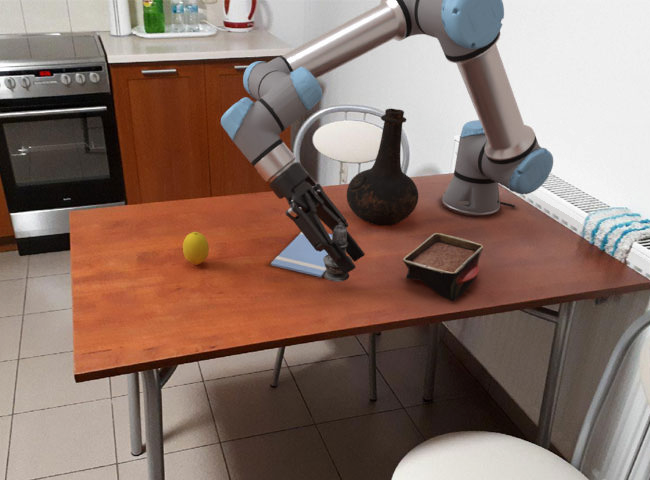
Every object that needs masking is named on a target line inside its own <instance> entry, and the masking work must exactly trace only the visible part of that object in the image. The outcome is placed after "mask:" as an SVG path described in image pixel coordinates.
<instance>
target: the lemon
mask: <svg viewBox="0 0 650 480" xmlns="http://www.w3.org/2000/svg"><path fill="white" fill-rule="evenodd" d="M209 246H210V245H209V242H208V240H207V237H206V236H205V235H204V234H203V233H201V232H197V231H193V232H190V233H188V234H187V235H186V236H185V238H184V240H183V243H182V252H183V253H182V254H183V256H184V258H185V259H186V261H187V262H189V263H191V264H194V265H195V266H198V265H199V264H202V263H204V261H206V259H207V258H208V256H209V251H210V247H209Z"/></svg>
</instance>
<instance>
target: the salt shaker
mask: <svg viewBox="0 0 650 480" xmlns="http://www.w3.org/2000/svg"><path fill="white" fill-rule="evenodd" d="M347 232H348V227H347V228H346V227H345V226H342V223H341V222H340V223H339V225H337V226H335V227H334V228H333V231H332V242H335V241H336V242H337V243H338V245H339V246H340V247H341V248H342V250H343V251H344V252H345V254H346V255H347V252H346V246H347V245H348V242H347V241H346V240H347ZM347 256H348V257H349V259H350V260H351V261H352V262H353V260H352V258H351V257H350V256H349V255H347ZM323 261H324V263H325V267H326V269H327V270H326V271H325V272H324V275H323V277H324V278H325V279H326V280H328V281H331V282H336V283H340V282H341V283H342V282H345V281H347V280H349V279H350V274H349V273H350V272H348V273H347V274H345V275H344V273H343V272H342V271H341V269H340V268H339V267H338V266H337V264H336V263H335V262H334V261H333V260H332V258H331V257H330V256H329V255H326V256H325V257H324V258H323Z"/></svg>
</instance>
